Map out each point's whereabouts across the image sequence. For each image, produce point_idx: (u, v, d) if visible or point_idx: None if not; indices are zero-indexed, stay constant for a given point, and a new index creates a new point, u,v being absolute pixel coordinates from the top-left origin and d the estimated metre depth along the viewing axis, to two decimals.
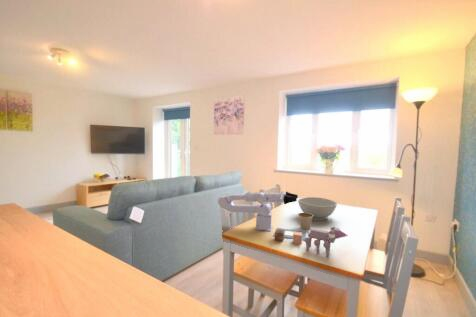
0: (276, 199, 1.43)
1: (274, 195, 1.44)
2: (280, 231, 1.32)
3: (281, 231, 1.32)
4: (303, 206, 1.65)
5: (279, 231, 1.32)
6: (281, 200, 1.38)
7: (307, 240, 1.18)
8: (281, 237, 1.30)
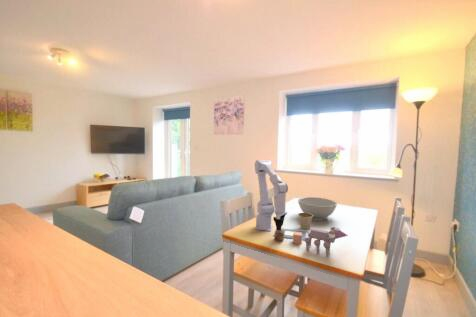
0: (278, 207, 1.29)
1: (282, 205, 1.29)
2: (280, 231, 1.32)
3: (281, 231, 1.32)
4: (303, 206, 1.65)
5: (279, 231, 1.32)
6: (277, 217, 1.25)
7: (307, 240, 1.18)
8: (281, 237, 1.30)
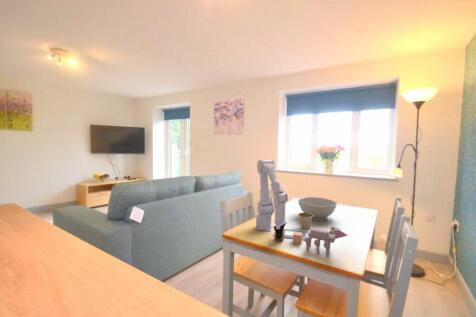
0: (278, 217, 1.30)
1: (282, 215, 1.29)
2: None
3: None
4: (303, 206, 1.65)
5: None
6: (277, 227, 1.25)
7: (307, 240, 1.18)
8: (281, 237, 1.30)
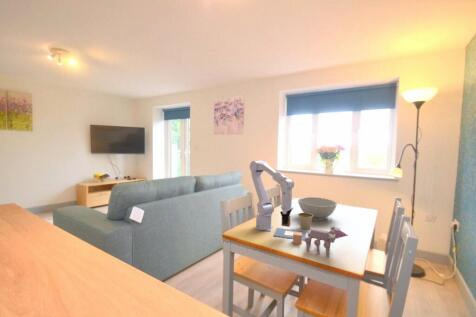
0: (284, 203, 1.33)
1: (289, 201, 1.33)
2: None
3: None
4: (303, 206, 1.65)
5: None
6: (284, 212, 1.29)
7: (307, 240, 1.18)
8: (288, 222, 1.34)
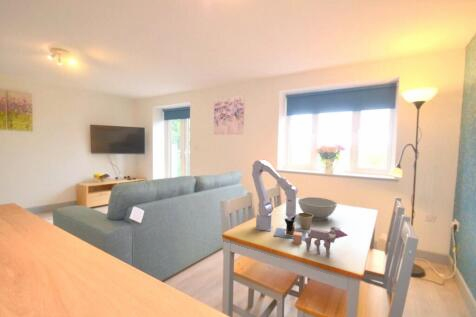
0: (289, 210, 1.37)
1: (293, 208, 1.37)
2: None
3: None
4: (303, 206, 1.65)
5: None
6: (289, 218, 1.33)
7: (307, 240, 1.18)
8: (292, 231, 1.38)
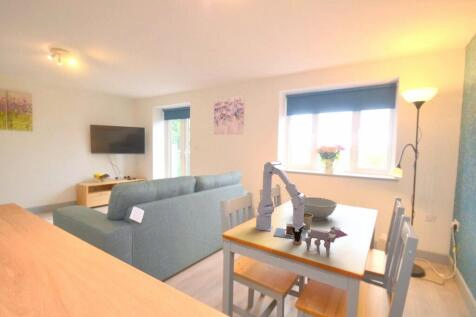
0: (296, 219, 1.26)
1: (301, 217, 1.26)
2: (291, 225, 1.40)
3: (292, 225, 1.40)
4: None
5: (290, 225, 1.40)
6: (296, 229, 1.22)
7: (307, 240, 1.18)
8: (292, 231, 1.38)
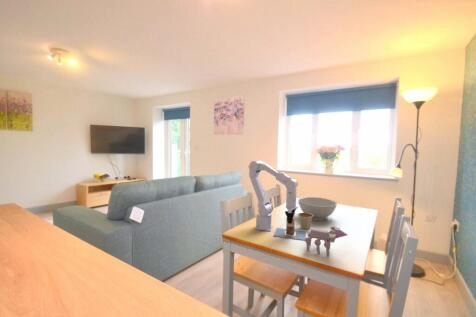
0: (289, 202, 1.37)
1: (293, 200, 1.37)
2: None
3: None
4: (303, 206, 1.65)
5: None
6: (289, 211, 1.33)
7: (307, 240, 1.18)
8: (292, 231, 1.38)
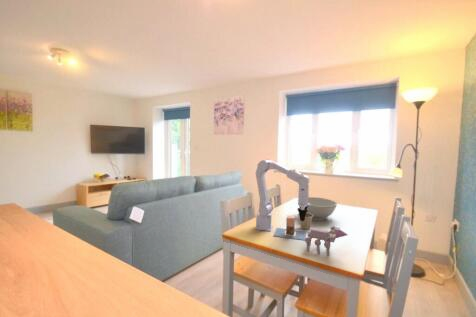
0: (302, 199, 1.34)
1: (306, 197, 1.34)
2: None
3: None
4: None
5: None
6: (302, 208, 1.30)
7: (308, 240, 1.18)
8: (292, 231, 1.38)
